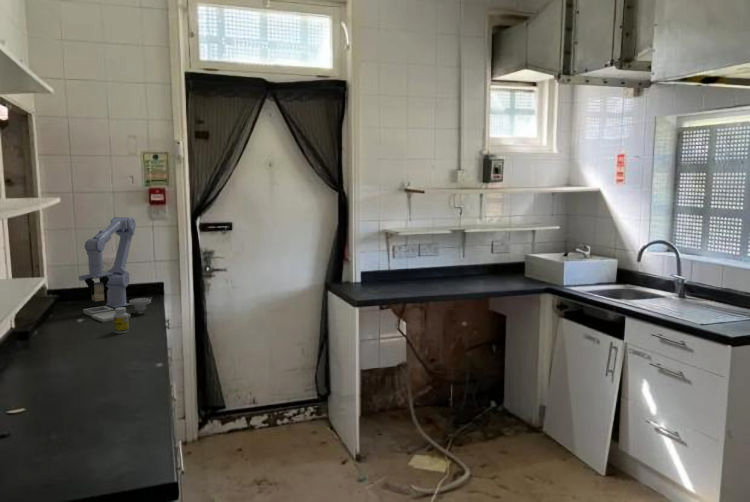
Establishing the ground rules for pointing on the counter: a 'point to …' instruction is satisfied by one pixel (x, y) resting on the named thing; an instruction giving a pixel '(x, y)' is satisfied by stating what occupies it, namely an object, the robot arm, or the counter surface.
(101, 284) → the peg
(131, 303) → the showerhead
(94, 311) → the holder
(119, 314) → the supplement bottle
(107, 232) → the robot arm
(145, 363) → the counter surface
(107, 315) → the tray
